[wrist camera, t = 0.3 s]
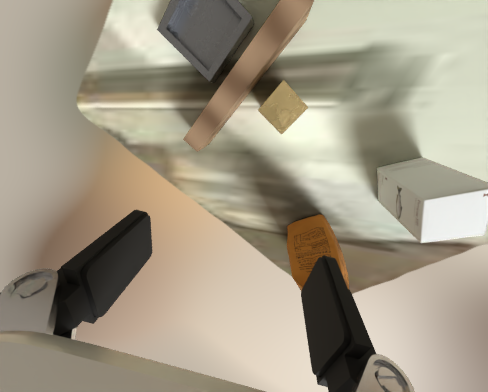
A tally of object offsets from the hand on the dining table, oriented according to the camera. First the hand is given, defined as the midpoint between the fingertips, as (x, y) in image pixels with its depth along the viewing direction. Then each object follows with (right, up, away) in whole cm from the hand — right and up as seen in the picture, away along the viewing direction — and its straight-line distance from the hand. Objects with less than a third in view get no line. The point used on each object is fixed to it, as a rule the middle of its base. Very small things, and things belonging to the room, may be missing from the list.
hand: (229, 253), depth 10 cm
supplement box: (+29, +6, +24) cm, 39 cm away
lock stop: (+7, +18, +22) cm, 29 cm away
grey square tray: (-5, +29, +18) cm, 34 cm away
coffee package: (+16, -6, +33) cm, 37 cm away
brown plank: (+1, +22, +21) cm, 30 cm away
